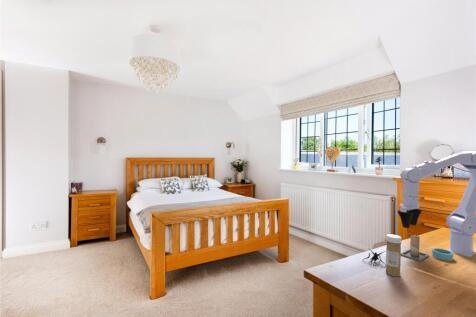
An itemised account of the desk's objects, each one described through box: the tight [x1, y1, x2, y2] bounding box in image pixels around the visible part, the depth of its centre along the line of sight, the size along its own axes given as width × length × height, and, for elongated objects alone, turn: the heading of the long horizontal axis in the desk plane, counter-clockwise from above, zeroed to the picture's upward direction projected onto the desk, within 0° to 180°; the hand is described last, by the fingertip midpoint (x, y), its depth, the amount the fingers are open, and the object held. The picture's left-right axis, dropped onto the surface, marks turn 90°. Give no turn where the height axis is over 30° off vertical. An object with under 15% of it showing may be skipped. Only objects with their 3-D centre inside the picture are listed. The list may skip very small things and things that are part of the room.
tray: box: [401, 248, 430, 262], centre depth 102 cm, size 9×7×1 cm
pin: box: [409, 234, 421, 257], centre depth 101 cm, size 3×3×8 cm
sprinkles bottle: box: [385, 233, 403, 277], centre depth 87 cm, size 5×5×14 cm
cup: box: [431, 247, 455, 262], centre depth 101 cm, size 7×7×3 cm
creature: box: [362, 248, 386, 269], centre depth 95 cm, size 8×5×8 cm
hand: (409, 226), depth 109 cm, fingers open, 7 cm apart
